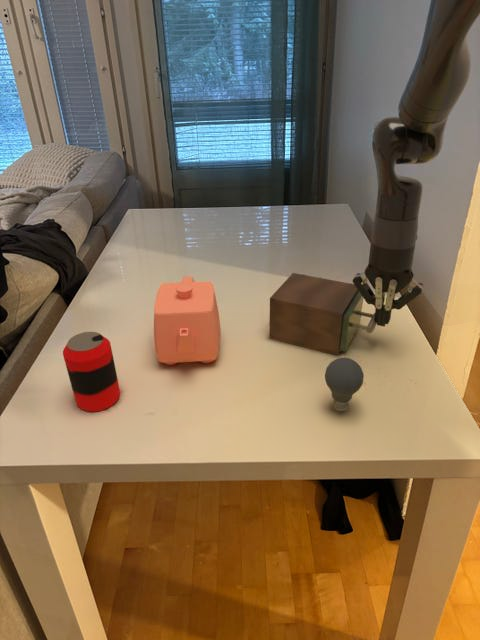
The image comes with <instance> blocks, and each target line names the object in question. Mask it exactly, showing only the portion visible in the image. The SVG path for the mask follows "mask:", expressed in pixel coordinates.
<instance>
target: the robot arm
mask: <svg viewBox="0 0 480 640" xmlns="http://www.w3.org/2000/svg"><path fill="white" fill-rule="evenodd" d="M479 16H480V0H430V3H429V8H428V13H427V18H426V23H425V27H424V32H423V37H422V41H421V45H420V49H419V53H418V56H417V57H416V58H417V59H416V61H415V64H414V66H413V69H412V71H411V73H410V76H409V78H408V81H407V83H406V85H405V88H404V90H403V93H402V95H401V97H400V100H399V103H398V108H397V113H398V116H389V117H384V118H382V119H381V120H380V121H379V122H378V123H377V125H376V126H375V128H374V131H373V133H372V137H371V146H372V152H373V157H374V162H375V169H376V177H377V197H376V198H377V199H376V206H375V215H374V220H373V223H372V228H371V237H370V246H369V254H368V255H369V256H368V263H367V264H368V265H366V267H365V269H364V271H363V272H361V273H360V272H358V273H356V274H355V275H354V277H353V279H352V284H354V285H355V286H356V288H357V289H358V291H359V292H360V293H361V295H362V296H363V300H364V301H365V302H366V304H367V305H372V306H374V308H375V309H374V313H375V316H374V321H375V322H377V324H376V326H379V327H386V325H389V323H390V322H391V318H392V312H393V311H392V310H398V311H399V310H401V309H402V308H404V307H406V305H407V304H409V303H410V302H412V301H413V300H414V299H415V298H417V297H418V296H419V295H421V293H422V291H423V290H424V289H423V288H424V284H423V283H422V282H417V280H415V278H414V272H413V269H412V268H413V263H414V257H415V250H416V243H417V240H418V230H419V214H420V209H421V202H422V197H423V183H422V181H420V180H419V179H416V178H414V177H411V176H405V175H401V174H397V173H396V165H418V164H419V165H421V164H427V163H429V162H431V161H433V160H434V159H436V158H437V157H439V154H440V153H441V151H442V149H443V145H444V144H443V143H444V137H445V130H446V126H447V122H448V118H449V116H450V114H451V113H452V111H453V109H454V107H455V106H456V104H457V103H458V101H459V99H460V98H461V96H462V94H463V92H464V90H465V88H466V86H467V84H468V81H469V79H470V75H471V67H472V65H471V64H472V63H471V61H472V60H471V54H470V49H469V45H468V41H467V37H468V34H469V32H470V30H471V28H472V27H473V25H475V22H476V21H477V20H478V18H479ZM368 282H369V283H370V285H371V286H370V285H369V283H368ZM371 287H372V288H373V289H372V288H371ZM406 287H407V291H405V293H403V294H401V296H400V297H398V298H397V299H396V295H397V294H398V293H400V292H401V291H402V290H404V288H406ZM373 290H374V291H373Z"/></svg>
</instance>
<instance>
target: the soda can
mask: <svg viewBox="0 0 480 640" xmlns="http://www.w3.org/2000/svg"><path fill="white" fill-rule="evenodd" d="M62 357H63V360H64V363H65V367H66V372H67V374H68V378H69V383H70V386H71V389H72V393H73V397H74V400H75V404H76V406H77V407H78V408H79V409H81V410H83V411H85V412H99V411H103V410H106V409H109V408H110V407H112V406H113V405H114V404H115V403H116V402H117V401H118V400H119V398H120V396H121V388H120V384H119V379H118V374H117V369H116V364H115V360H114V359H115V358H114V354H113V350H112V345H111V341H110V340H109V339H108V338H107V337H105V336H104V335H103V334H101V333H100V332H96V331H84V332H80V333H76V334H75V335H73V336H72V337H70V338H69V339H68V340H67V343H66V344H65V346H64V347H63V350H62Z"/></svg>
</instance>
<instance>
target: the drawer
mask: <svg viewBox="0 0 480 640" xmlns="http://www.w3.org/2000/svg"><path fill="white" fill-rule="evenodd" d="M363 305H364V298H363V296H362V295H361V293H360V292H359V291H358V292H357V294H356V296H355V297H354V299H353V301H352V302H351V304H350V305H349V306H348V308H347V310H346V311H345V313H344V315H343V321H342V331H341V340H340V349H339V350H340V352H345V353H346V352H347V349H348V347H349V345H350V344H351V342H352V340H353V338H354V336H355V335H356V332H357V330H358V329H360V330H363V331H365V332H366V333H368V334H372V333H373V332H374V330H375V329H376V326H377V322H375V321H374V316H375V312H374V313H370V312H366V311H363ZM362 317H367V318H370V319H369V321H368V323H367V325H363V324H361V320H362Z"/></svg>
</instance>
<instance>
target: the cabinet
mask: <svg viewBox="0 0 480 640" xmlns="http://www.w3.org/2000/svg"><path fill="white" fill-rule="evenodd" d="M357 292H358V289H357V288H356V286H355V285H354V283H350V282H344V281H339V280H333V279H328V278H322V277H317V276H312V275H306V274H301V273H297V272H292V273H291V274H290V275H289V276H288V277H287V279H285V281H284V282H283V283H282V284H281V285H280V286H279V287H278V289H277V290H276V291H275V292H273V294H272V295H271V296H270V297H269V327H268V328H269V329H268V330H269V331H268V332H269V338H268V339H269V340H273V341H278V342H280V343H281V342H282V343H285V344H289V345H294V346H298V347H301V348H305V349H308V350H313V351H317V352H322V353H325V354H329V355H333V356H339V354H340V353H341V351H340V350H339V349H340V340H341V331H342V321H343V315H344V313H345V311H346V310H347V308H348V306H349V305H350V304H351V302H352V301H353V299H354V297H355V296H356V294H357Z"/></svg>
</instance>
